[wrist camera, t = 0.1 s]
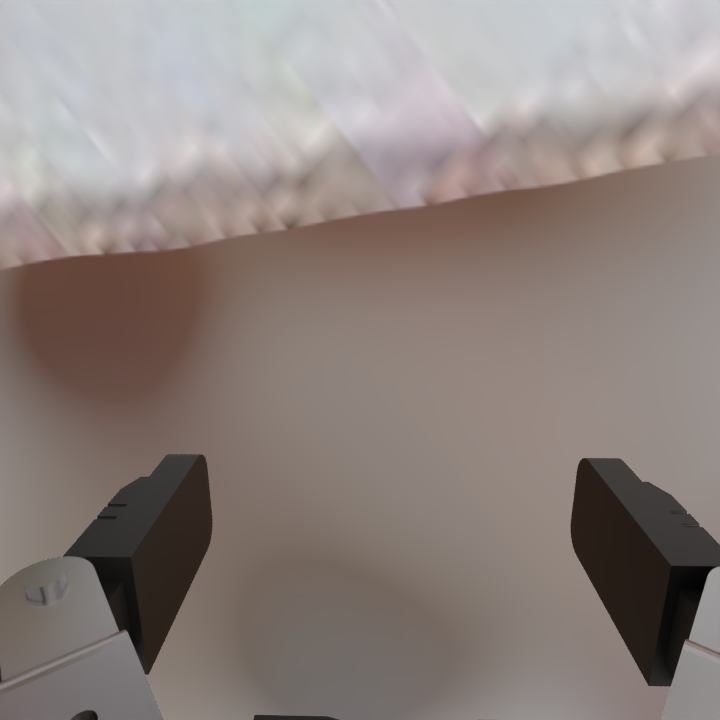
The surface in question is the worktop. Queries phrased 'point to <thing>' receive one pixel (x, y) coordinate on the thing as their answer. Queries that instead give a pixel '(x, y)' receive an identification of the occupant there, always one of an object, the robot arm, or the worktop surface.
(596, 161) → the worktop surface
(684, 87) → the worktop surface
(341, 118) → the worktop surface
